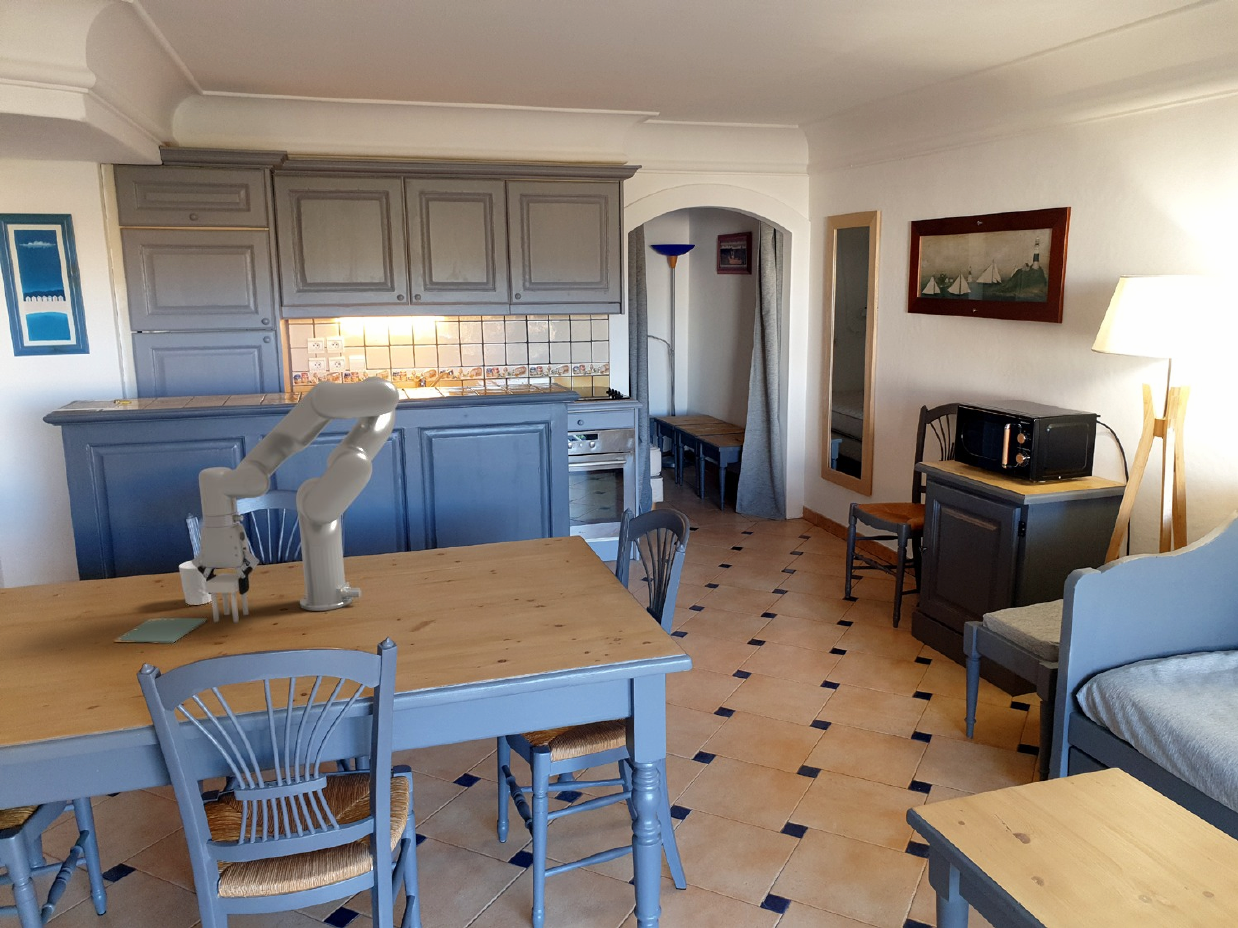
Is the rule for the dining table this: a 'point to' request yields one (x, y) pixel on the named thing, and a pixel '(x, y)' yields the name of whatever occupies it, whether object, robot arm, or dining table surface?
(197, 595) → the white cup
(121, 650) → the dining table surface
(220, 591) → the stool
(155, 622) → the mat
